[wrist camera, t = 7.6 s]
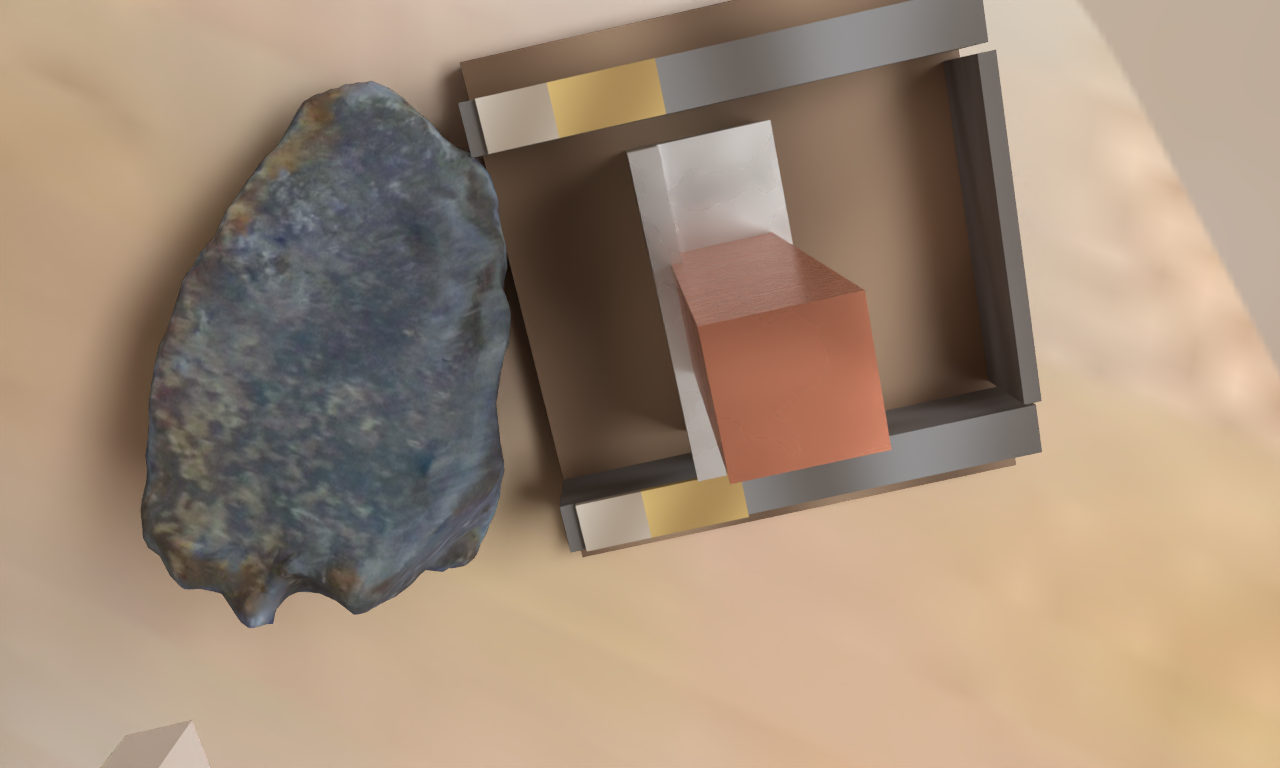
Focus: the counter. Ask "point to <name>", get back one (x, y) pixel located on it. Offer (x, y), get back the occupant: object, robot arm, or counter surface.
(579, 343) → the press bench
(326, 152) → the rock
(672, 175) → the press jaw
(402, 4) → the counter surface
